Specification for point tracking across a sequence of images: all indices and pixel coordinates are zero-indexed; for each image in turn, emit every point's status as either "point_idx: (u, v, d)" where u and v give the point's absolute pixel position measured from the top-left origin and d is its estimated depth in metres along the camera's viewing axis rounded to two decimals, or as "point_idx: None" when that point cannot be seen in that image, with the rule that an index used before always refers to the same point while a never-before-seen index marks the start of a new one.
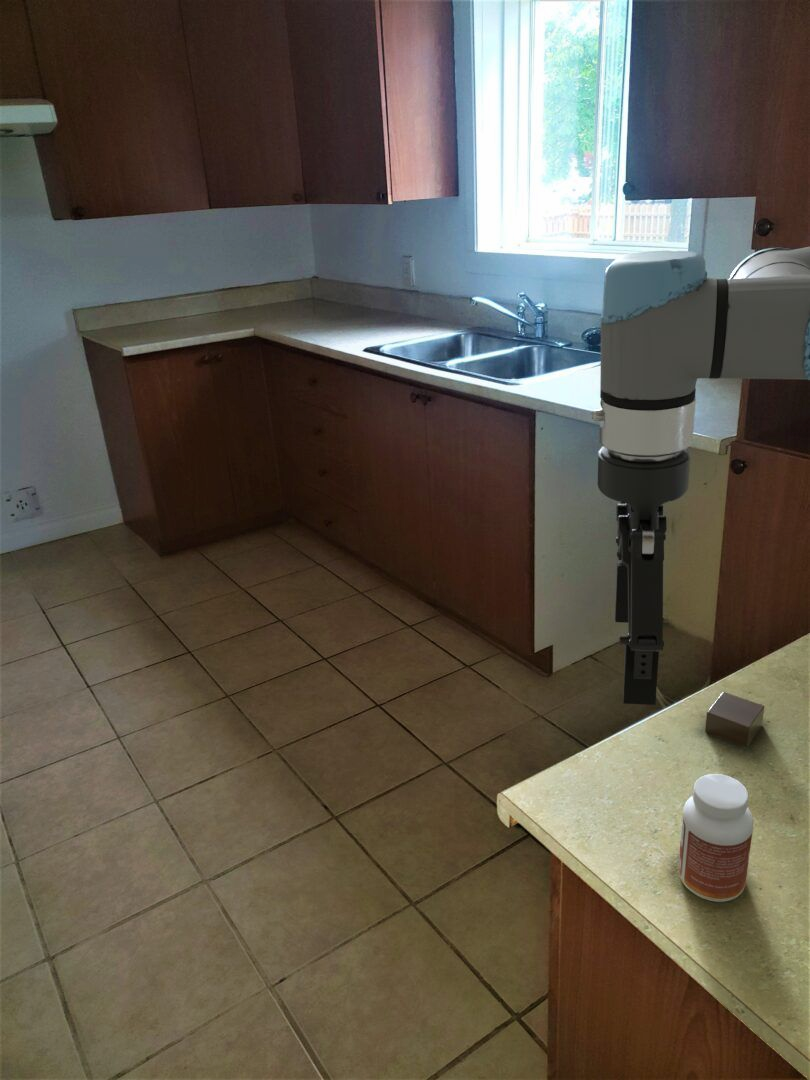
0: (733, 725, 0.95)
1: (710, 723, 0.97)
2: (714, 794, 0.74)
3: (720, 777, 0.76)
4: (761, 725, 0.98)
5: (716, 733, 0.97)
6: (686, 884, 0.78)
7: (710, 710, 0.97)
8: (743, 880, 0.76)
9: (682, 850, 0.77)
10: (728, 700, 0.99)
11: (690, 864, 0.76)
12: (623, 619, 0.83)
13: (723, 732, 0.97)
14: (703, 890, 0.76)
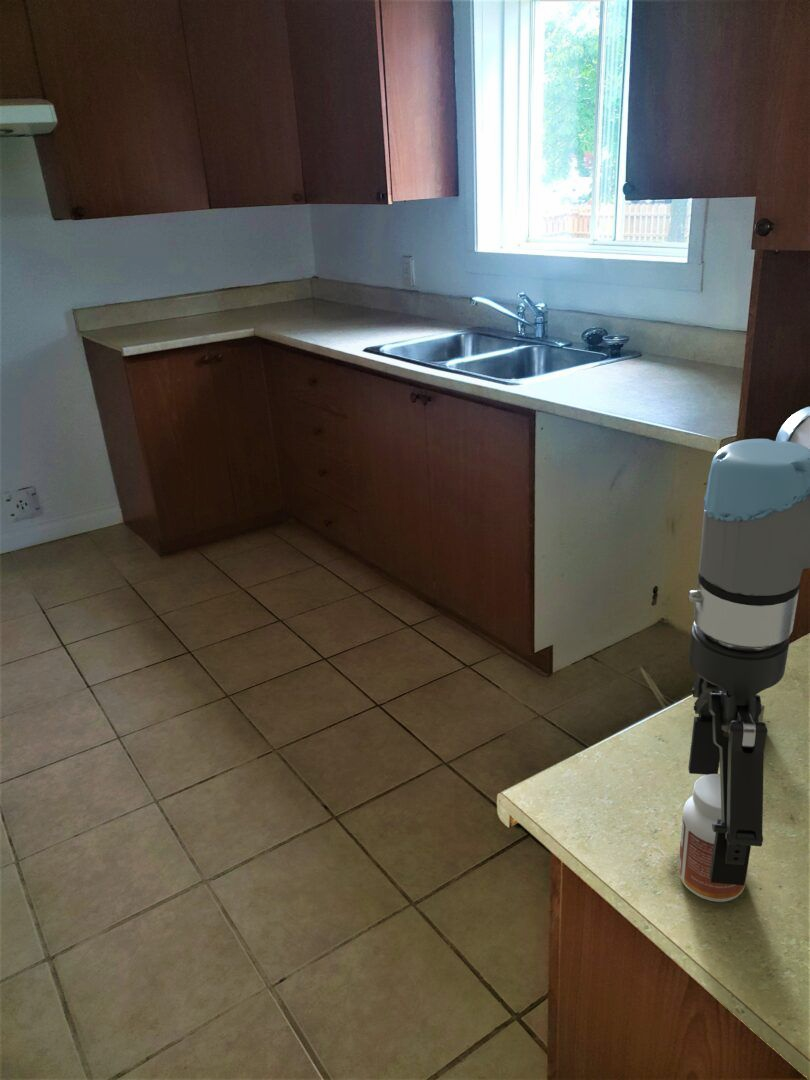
0: None
1: None
2: (714, 794, 0.74)
3: None
4: None
5: None
6: (686, 884, 0.78)
7: None
8: None
9: (682, 850, 0.77)
10: None
11: (690, 864, 0.76)
12: (698, 771, 0.82)
13: (723, 732, 0.97)
14: (703, 890, 0.76)
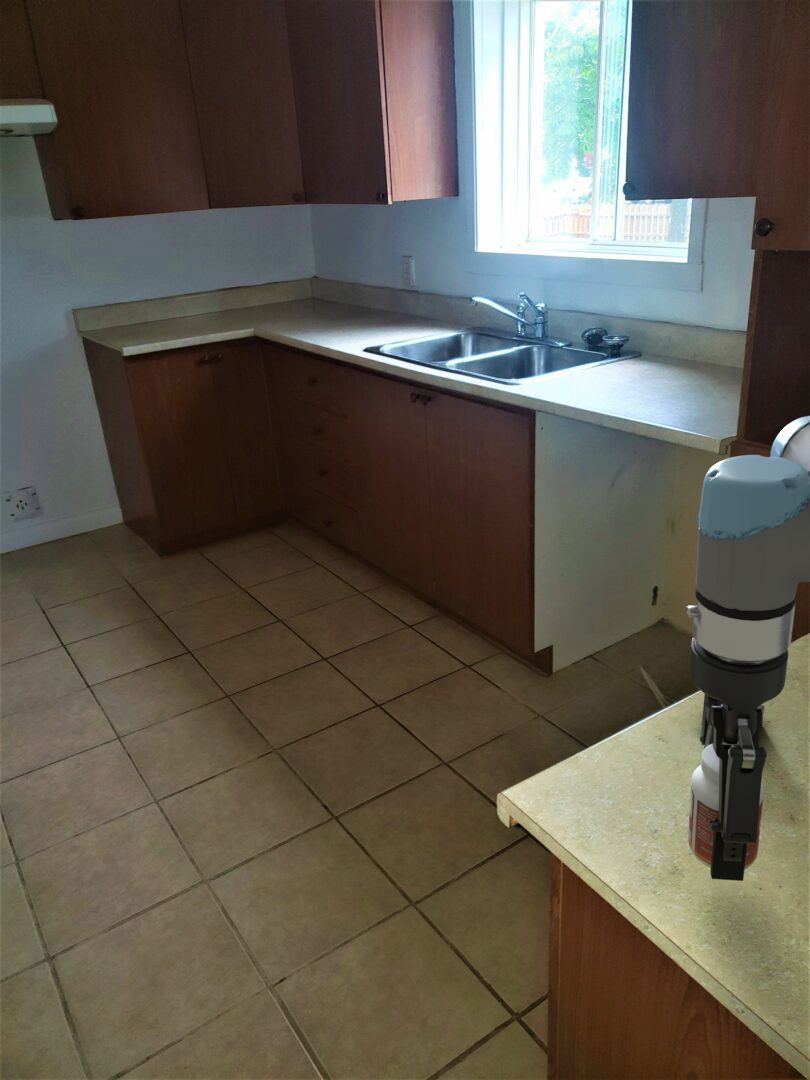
0: None
1: None
2: None
3: (728, 744, 0.74)
4: None
5: None
6: (696, 855, 0.76)
7: None
8: (755, 850, 0.74)
9: (691, 821, 0.76)
10: None
11: (700, 834, 0.75)
12: None
13: None
14: None
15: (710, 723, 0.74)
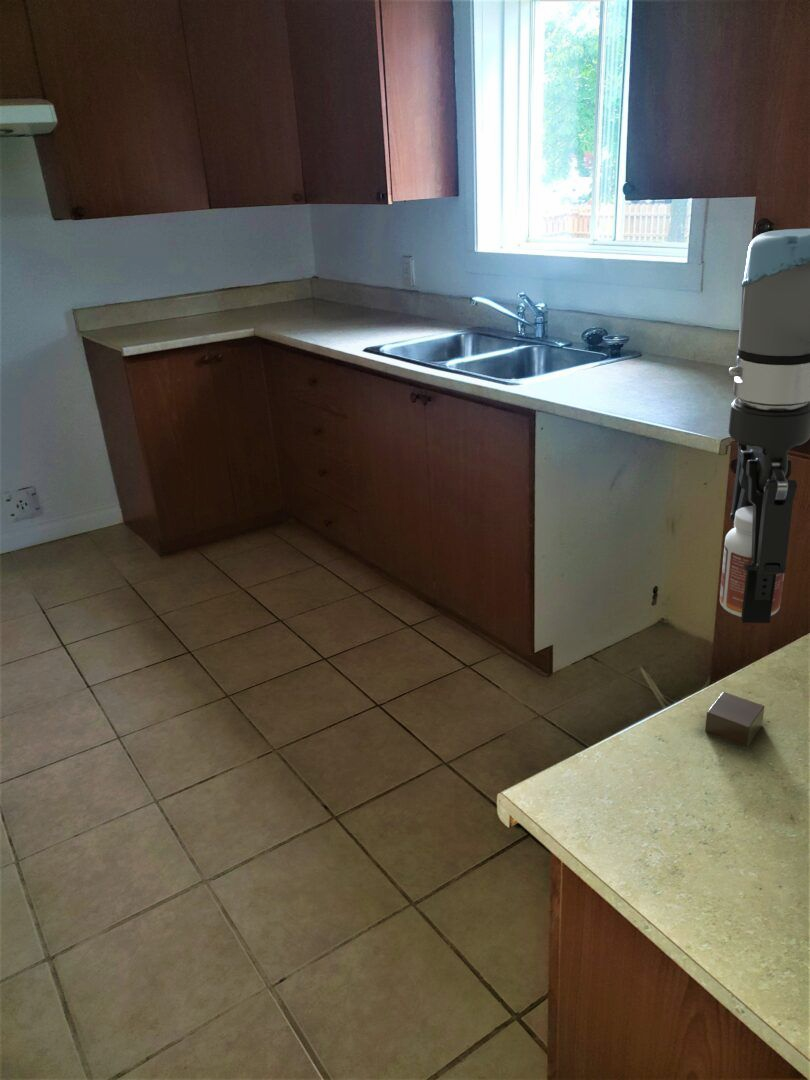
0: (733, 725, 0.95)
1: (710, 723, 0.97)
2: None
3: None
4: (761, 725, 0.98)
5: (716, 733, 0.97)
6: (728, 607, 0.88)
7: (710, 710, 0.97)
8: (779, 598, 0.86)
9: (724, 576, 0.88)
10: (728, 700, 0.99)
11: (732, 585, 0.87)
12: None
13: (723, 732, 0.97)
14: None
15: (743, 486, 0.86)
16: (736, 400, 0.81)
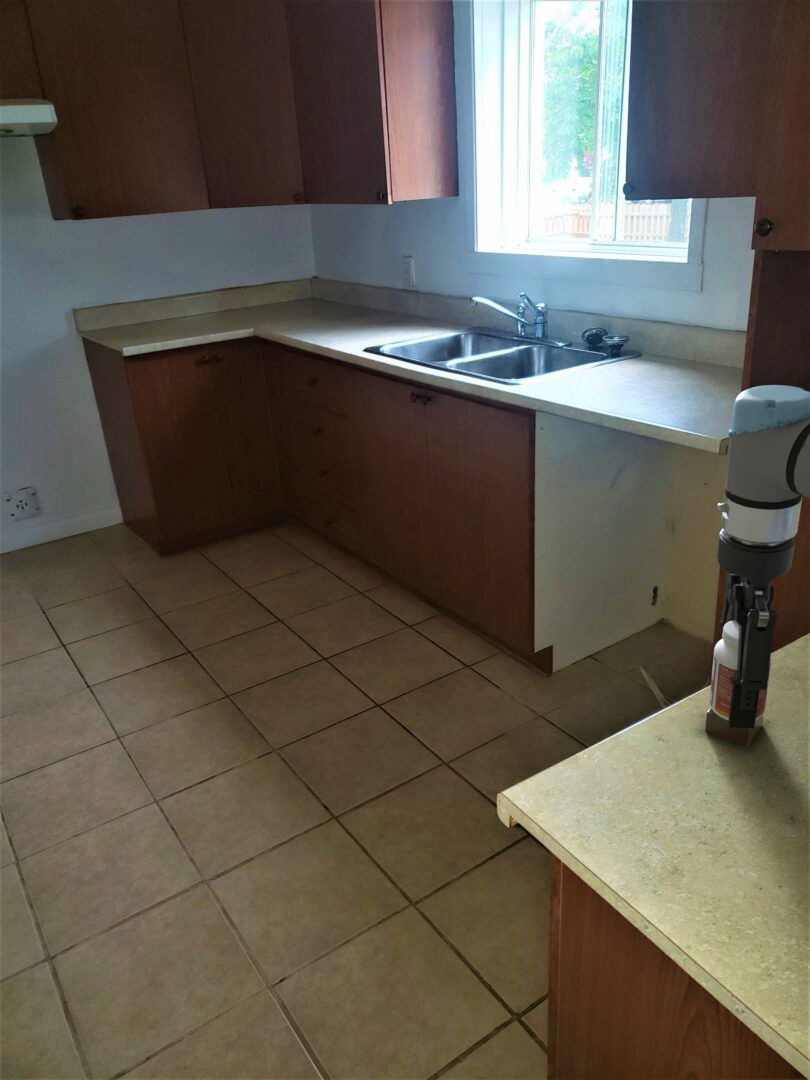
0: None
1: (710, 723, 0.97)
2: None
3: None
4: (761, 725, 0.98)
5: (716, 733, 0.97)
6: (716, 711, 0.96)
7: (710, 710, 0.97)
8: (763, 705, 0.94)
9: (713, 683, 0.95)
10: None
11: (720, 692, 0.94)
12: None
13: (723, 732, 0.97)
14: None
15: (731, 603, 0.93)
16: (724, 530, 0.89)
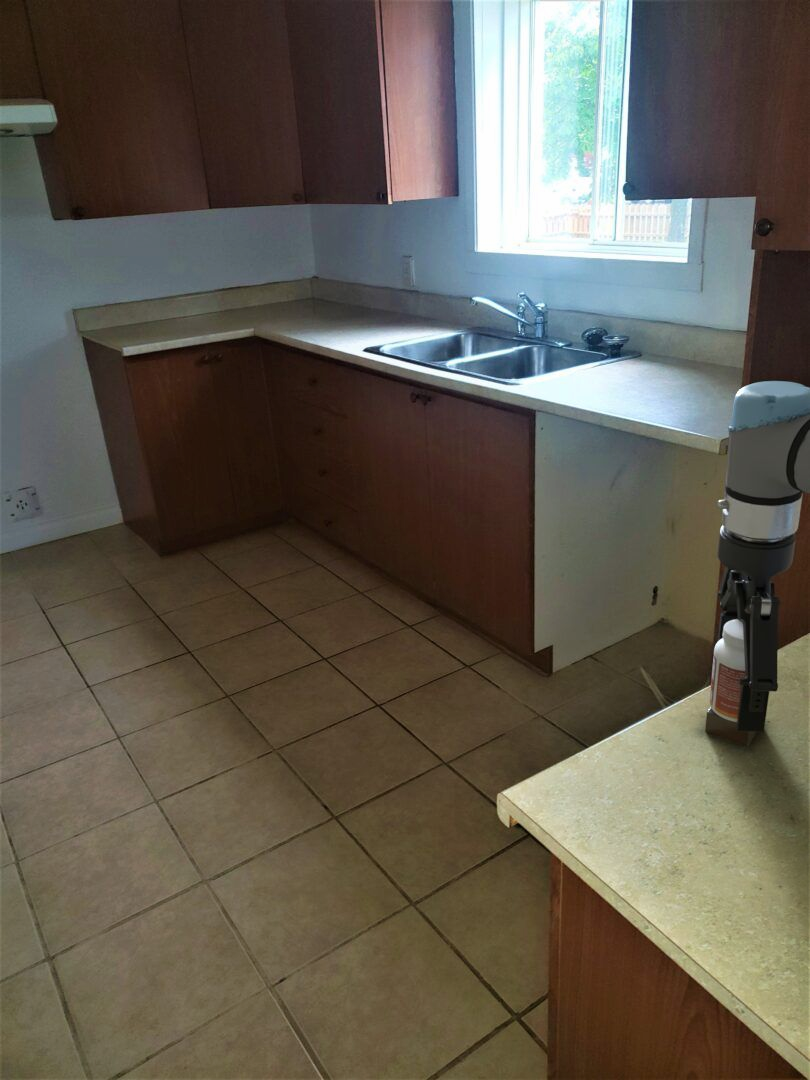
0: (733, 725, 0.95)
1: (710, 723, 0.97)
2: (740, 631, 0.92)
3: None
4: None
5: (716, 733, 0.97)
6: (716, 711, 0.96)
7: (710, 710, 0.97)
8: None
9: (713, 682, 0.95)
10: None
11: (720, 692, 0.94)
12: None
13: (723, 732, 0.97)
14: (731, 713, 0.94)
15: (730, 591, 0.94)
16: (724, 527, 0.88)
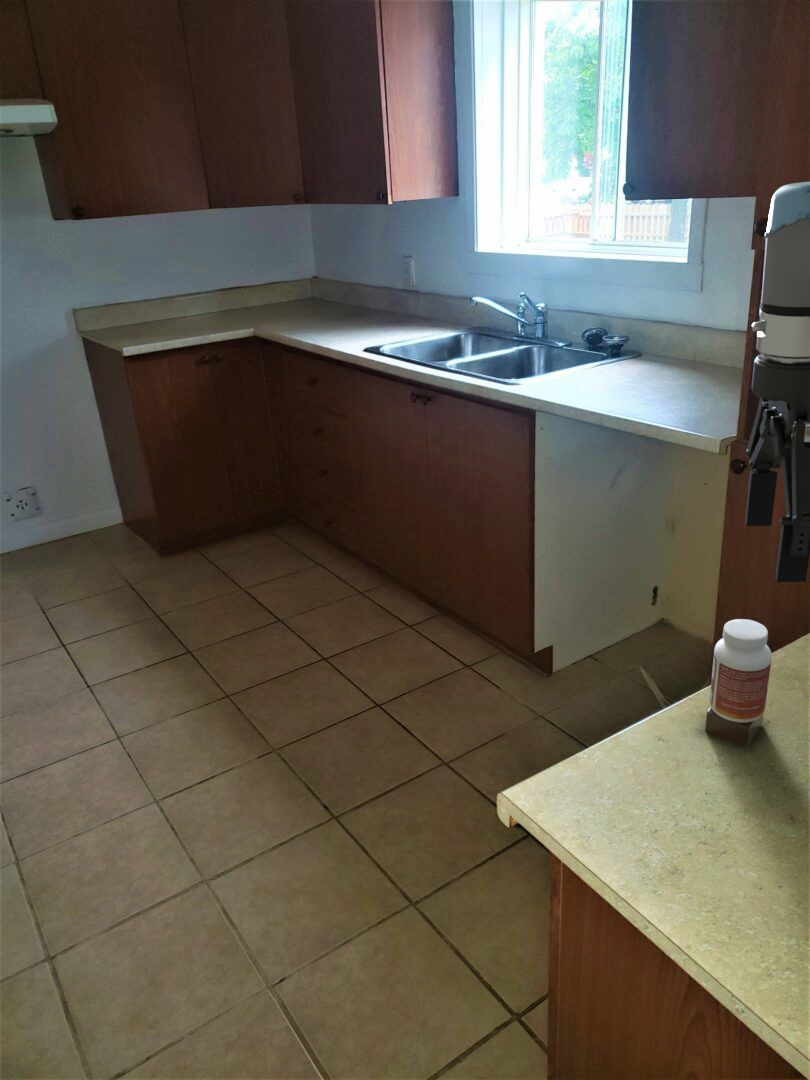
0: (733, 725, 0.95)
1: (710, 723, 0.97)
2: (740, 631, 0.92)
3: (744, 621, 0.94)
4: (761, 725, 0.98)
5: (716, 733, 0.97)
6: (716, 711, 0.96)
7: (710, 710, 0.97)
8: (763, 704, 0.94)
9: (713, 682, 0.95)
10: None
11: (720, 692, 0.94)
12: (754, 523, 0.94)
13: (723, 732, 0.97)
14: (731, 713, 0.94)
15: (763, 438, 0.86)
16: (759, 356, 0.81)
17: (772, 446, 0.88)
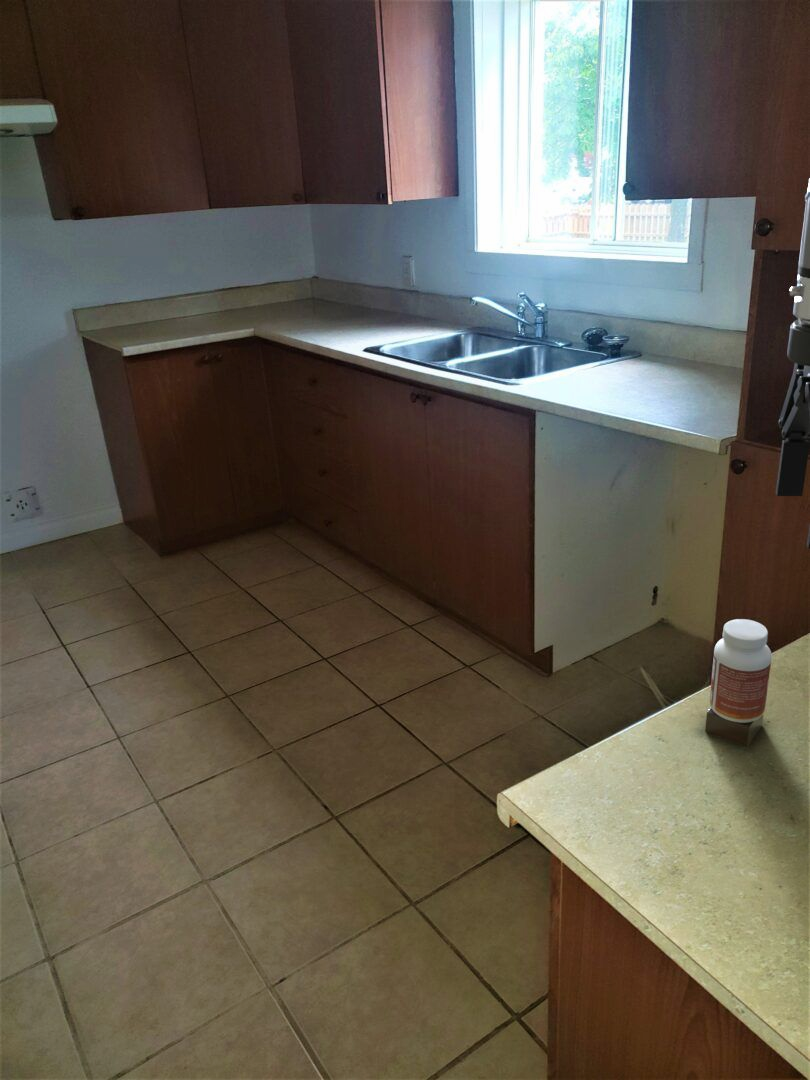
0: (733, 725, 0.95)
1: (710, 723, 0.97)
2: (740, 631, 0.92)
3: (744, 621, 0.94)
4: (761, 725, 0.98)
5: (716, 733, 0.97)
6: (716, 711, 0.96)
7: (710, 710, 0.97)
8: (763, 704, 0.94)
9: (713, 682, 0.95)
10: None
11: (720, 692, 0.94)
12: (784, 493, 0.94)
13: (723, 732, 0.97)
14: (731, 713, 0.94)
15: (797, 405, 0.86)
16: (796, 322, 0.80)
17: (806, 414, 0.87)
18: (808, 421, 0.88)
